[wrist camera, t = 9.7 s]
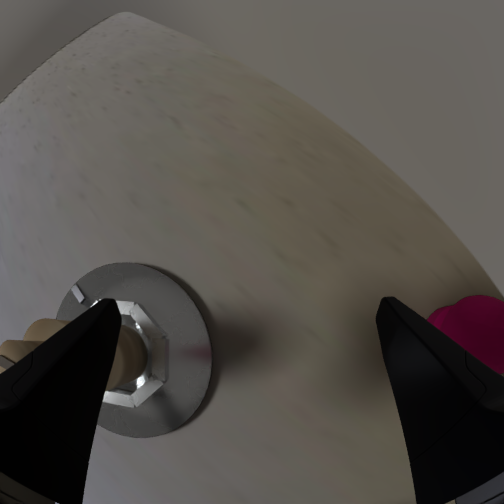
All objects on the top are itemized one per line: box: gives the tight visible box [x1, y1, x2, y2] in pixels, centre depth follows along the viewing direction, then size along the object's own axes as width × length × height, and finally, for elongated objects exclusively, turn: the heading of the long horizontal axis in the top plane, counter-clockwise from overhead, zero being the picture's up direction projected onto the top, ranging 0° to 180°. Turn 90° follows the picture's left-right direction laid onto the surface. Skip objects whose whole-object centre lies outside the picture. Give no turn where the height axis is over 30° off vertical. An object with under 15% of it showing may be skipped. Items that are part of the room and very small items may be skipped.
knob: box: [0, 318, 148, 392], centre depth 15 cm, size 5×5×13 cm
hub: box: [56, 263, 213, 438], centre depth 21 cm, size 15×15×2 cm
